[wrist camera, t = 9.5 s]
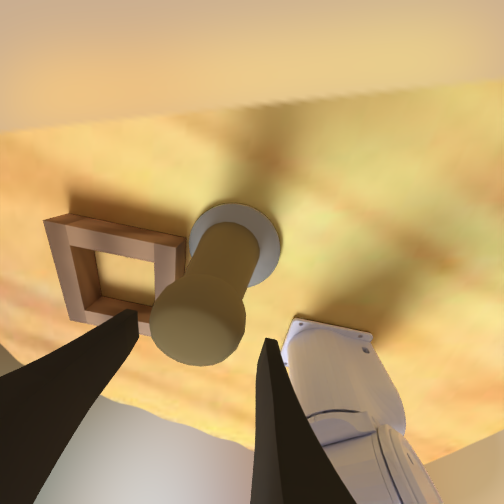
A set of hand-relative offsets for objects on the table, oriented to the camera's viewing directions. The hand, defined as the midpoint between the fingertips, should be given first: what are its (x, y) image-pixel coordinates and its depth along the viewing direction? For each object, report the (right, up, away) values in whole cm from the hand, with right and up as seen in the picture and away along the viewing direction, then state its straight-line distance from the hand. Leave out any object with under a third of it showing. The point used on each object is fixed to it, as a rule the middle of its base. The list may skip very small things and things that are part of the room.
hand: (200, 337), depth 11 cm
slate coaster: (+1, +5, +9) cm, 10 cm away
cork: (+1, +5, +9) cm, 10 cm away
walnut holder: (-11, +2, +11) cm, 16 cm away
